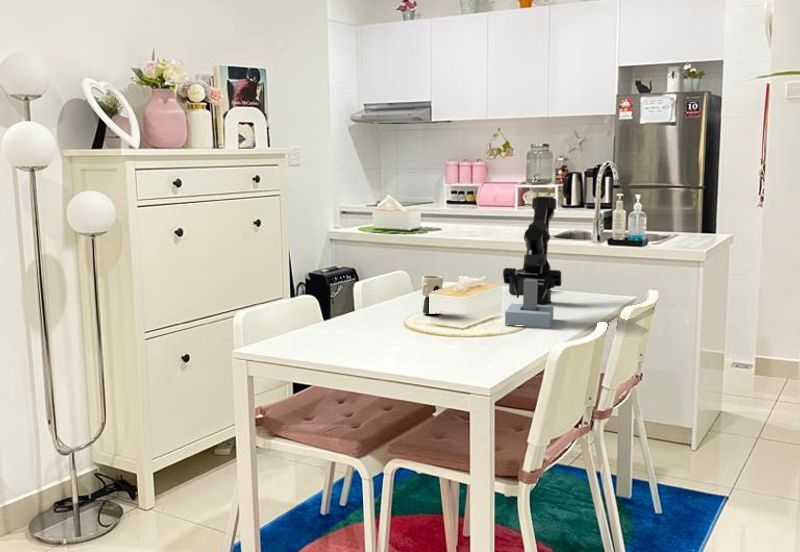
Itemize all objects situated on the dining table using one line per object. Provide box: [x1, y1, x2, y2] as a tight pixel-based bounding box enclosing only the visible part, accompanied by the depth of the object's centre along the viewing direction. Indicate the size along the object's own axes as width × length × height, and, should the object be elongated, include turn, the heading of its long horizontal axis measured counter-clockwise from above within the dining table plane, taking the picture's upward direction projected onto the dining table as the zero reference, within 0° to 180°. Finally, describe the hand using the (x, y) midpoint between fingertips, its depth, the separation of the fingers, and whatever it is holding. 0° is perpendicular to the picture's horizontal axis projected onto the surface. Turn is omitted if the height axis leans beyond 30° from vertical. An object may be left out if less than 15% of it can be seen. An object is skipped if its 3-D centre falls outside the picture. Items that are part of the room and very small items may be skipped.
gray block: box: [522, 279, 538, 311], centre depth 265 cm, size 4×4×13 cm
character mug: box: [421, 274, 444, 315], centre depth 277 cm, size 11×7×13 cm, turn 145°
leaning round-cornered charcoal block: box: [508, 268, 525, 296], centre depth 317 cm, size 16×5×9 cm, turn 134°
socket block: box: [504, 302, 555, 329], centre depth 266 cm, size 14×14×4 cm
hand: (529, 298), depth 264 cm, fingers open, 7 cm apart
